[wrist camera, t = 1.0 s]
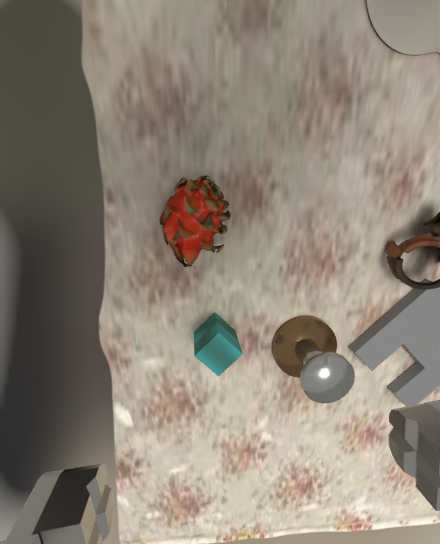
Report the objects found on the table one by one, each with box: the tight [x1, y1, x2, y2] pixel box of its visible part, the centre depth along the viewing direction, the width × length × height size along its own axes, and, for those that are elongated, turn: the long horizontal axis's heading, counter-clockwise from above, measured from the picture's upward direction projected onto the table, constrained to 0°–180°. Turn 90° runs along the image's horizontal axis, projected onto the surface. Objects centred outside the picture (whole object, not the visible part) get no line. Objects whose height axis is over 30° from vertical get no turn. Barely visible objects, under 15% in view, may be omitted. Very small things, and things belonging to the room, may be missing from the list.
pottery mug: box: [386, 212, 440, 290], centre depth 43 cm, size 12×10×8 cm
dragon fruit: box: [160, 175, 231, 268], centre depth 38 cm, size 8×8×12 cm
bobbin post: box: [272, 316, 355, 403], centre depth 43 cm, size 10×10×10 cm
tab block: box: [194, 313, 243, 376], centre depth 43 cm, size 4×4×7 cm
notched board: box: [349, 279, 440, 407], centre depth 49 cm, size 16×16×2 cm
